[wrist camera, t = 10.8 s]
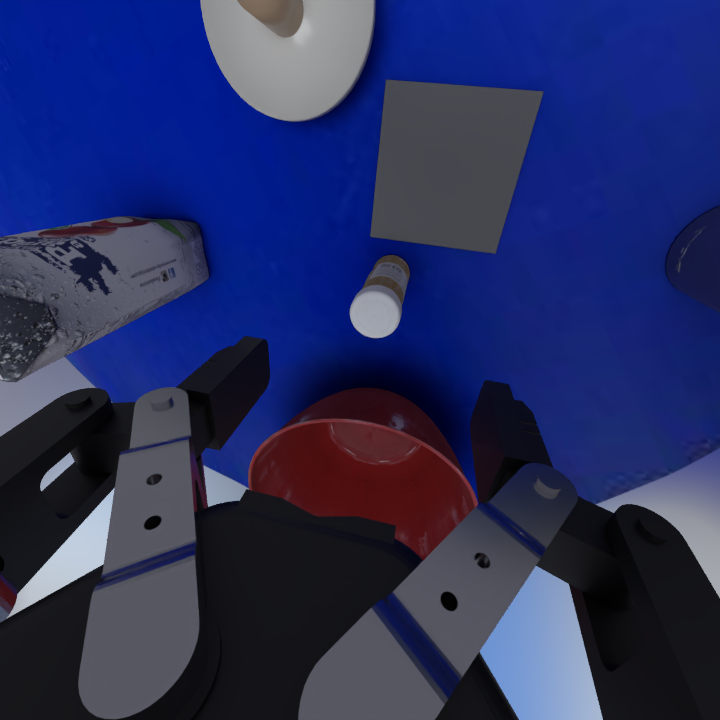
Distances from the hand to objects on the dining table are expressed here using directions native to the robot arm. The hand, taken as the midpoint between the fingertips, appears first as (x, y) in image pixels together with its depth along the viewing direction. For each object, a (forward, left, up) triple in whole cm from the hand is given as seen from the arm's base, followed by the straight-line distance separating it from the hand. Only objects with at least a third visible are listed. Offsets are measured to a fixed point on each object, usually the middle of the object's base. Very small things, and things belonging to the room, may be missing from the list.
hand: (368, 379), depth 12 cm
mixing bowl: (+1, +30, -30) cm, 43 cm away
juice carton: (+31, +6, -30) cm, 44 cm away
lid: (+13, -16, -25) cm, 32 cm away
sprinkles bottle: (+2, +5, -30) cm, 31 cm away
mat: (-2, -6, -30) cm, 31 cm away
